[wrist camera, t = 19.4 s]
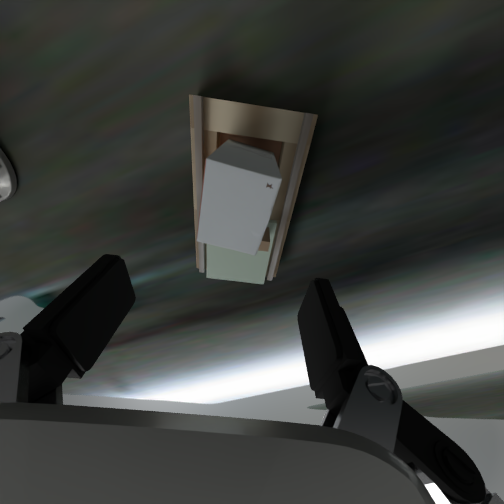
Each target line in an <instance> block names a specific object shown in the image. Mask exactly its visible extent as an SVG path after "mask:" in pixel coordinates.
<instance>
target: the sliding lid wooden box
mask: <svg viewBox="0 0 504 504" xmlns="http://www.w3.org/2000/svg"><path fill="white" fill-rule="evenodd" d="M189 103H190V126H191V149H192V172H193V195H194V217H195V240H196V239H197V230H198V221H199V211H200V203H201V194H202V185H203V176H204V168H205V160H206V158H207V157H208V156H209V155H211V154H212V153H213V152H214V151H215V150H216V149H217V148H219V147H220V146H221V145H222V144H223V143H224V142H226V141H227V140H228V139H231V140H234V141H237V142H241V143H244V144H247V145H250V146H254V147H257V148H260V149H264V150H267V151H270V152H273V153H274V155H275V159H276V162H277V165H278V168H279V171H280V174H281V177H282V181H281V184H280V187H279V191H278V194H277V197H276V200H275V203H274V206H273V209H272V213H271V216H270V219H269V220H276V221H277V226H276V230H275V235H274V239H273V244H272V248H271V253H270V257H269V262H268V266H267V271H266V275H265V276H267V280H272V278H273V277H276V273H277V269H278V265H279V261H280V258H281V254H282V250H283V246H284V242H285V239H286V235H287V231H288V227H289V223H290V220H291V216H292V212H293V208H294V204H295V201H296V197H297V193H298V189H299V185H300V182H301V178H302V174H303V170H304V166H305V163H306V159H307V155H308V151H309V147H310V144H311V140H312V136H313V132H314V128H315V124H316V121H317V117H318V115H315V114H310V113H302V112H296V111H289V110H283V109H277V108H270V107H264V106H258V105H251V104H245V103H239V102H232V101H226V100H220V99H213V98H207V97H202V96H197V95H189ZM196 263H197V268H199V272H203V273H204V271H205V269H207V244H205V243H201V242H197V241H196Z"/></svg>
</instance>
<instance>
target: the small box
mask: <svg viewBox="0 0 504 504" xmlns="http://www.w3.org/2000/svg"><path fill="white" fill-rule="evenodd" d="M281 181H282V177H281V174H280V171H279V168H278V165H277V162H276V159H275V155H274V153H273V152H270V151H267V150H264V149H260V148H257V147H254V146H250V145H247V144H244V143H241V142H237V141H234V140H231V139H228V140H227V141H226V142H224V143H223V144H222V145H221V146H220V147H219V148H217V149H216V150H215V151H214V152H213V153H212V154H211V155H209V156H208V157H207V158H206V160H205V168H204V176H203V185H202V194H201V203H200V211H199V221H198V230H197V239H196V241H197V242H201V243H205V244H210V245H214V246H218V247H222V248H227V249H231V250H235V251H239V252H243V253H247V254H251V255H256V254H257V252H258V249H259V246H260V244H261V241H262V238H263V235H264V233H265V230H266V227H267V225H268V222H269V219H270V216H271V213H272V209H273V206H274V203H275V200H276V197H277V194H278V191H279V187H280V184H281Z"/></svg>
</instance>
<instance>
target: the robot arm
mask: <svg viewBox="0 0 504 504" xmlns="http://www.w3.org/2000/svg"><path fill="white" fill-rule="evenodd" d="M16 187H17V180H16V175H15V172H14V169H13V167H12V165H11V163H10V161H9V160H8V158H7V157H6V155H5V154H4V152H3V151H2V150H1V149H0V201H3V200H6V199H9V198H10V197H11V196H13V194H14V193H15V191H16ZM135 298H136V297H135V293H134V290H133V287H132V284H131V281H130V277H129V274H128V271H127V268H126V265H125V262H124V260H123V259H121V257H120V256H118V255H109V254H105V255H103V256H102V257H101V258H99V259H98V260H97V261H96V262H95V263H94V264H93V265H92V266H91V267H90V268H88V269H87V270H86V271H85V272H84V273H83V274H82V275H81V276H80V277H79V278H77V279H76V280H75V281H74V282H73V283H72V284H71V285H70V286H69V287H68V288H66V289H65V290H64V291H63V292H62V293H61V294H60V295H59V296H58V297H57V298H55V299H54V300H53V301H52V302H51V303H50V304H49V305H48V306H47V307H45V308H44V309H43V310H42V311H41V312H40V313H39V314H38V315H37V316H36V317H34V318H33V319H32V320H31V321H30V322H29V323H28V324H27V325H26V326H25V327H23V329H24V331H23V332H22V333H21V334H20V335H19V334H18V333H14V332H4V333H0V504H504V502H503V501H502V500H501V498H499V496H498V495H497V494H496V493H490V492H489V491H488V490H487V489H486V488H485V483H484V481H483V478H482V476H481V474H480V472H479V470H478V468H477V467H476V465H475V464H474V462H473V461H472V460H471V458H470V457H469V456H468V455H467V453H466V452H465V451H464V450H463V449H461V447H459V446H458V445H457V444H456V443H455V442H454V441H452V440H451V439H450V438H449V437H448V436H446V435H445V434H444V433H443V432H441V431H440V430H439V429H438V428H437V427H435V426H434V425H433V424H432V423H430V422H429V421H428V420H427V419H426V418H424V417H423V416H422V415H421V414H419V413H418V412H417V411H416V410H415V409H413V408H412V407H411V406H410V405H408V404H407V403H406V402H405V401H403V398H402V393H401V390H400V388H399V386H398V385H397V383H396V382H395V381H394V379H393V378H392V377H391V376H390V375H389V374H388V373H387V372H385V371H384V370H382V369H381V368H379V367H376V366H373V365H368V364H367V361H366V359H365V357H364V354H363V352H362V350H361V347H360V345H359V343H358V341H357V338H356V336H355V334H354V331H353V329H352V327H351V325H350V322H349V320H348V318H347V315H346V313H345V311H344V309H343V308H342V307H340V306H339V303H338V301H337V299H336V296H335V294H334V291H333V289H332V287H331V284H330V282H329V280H328V279H322V278H316V279H315V280H312V281H311V283H310V285H309V288H308V290H307V292H306V295H305V297H304V300H303V302H302V305H301V307H300V310H299V312H298V324H299V330H300V335H301V340H302V345H303V351H304V356H305V361H306V367H307V372H308V377H309V383H310V387H311V389H312V390H313V391H315V396H316V398H320V399H325V403H326V408H327V411H326V413H325V415H324V418H323V420H322V422H321V424H320V426H319V425H310V424H299V423H290V422H280V421H268V420H256V419H244V418H232V417H220V416H206V415H194V414H182V413H181V414H180V413H169V412H155V411H142V410H129V409H115V408H100V407H87V406H74V405H63V397H62V383H63V381H64V380H65V379H66V377H68V378H80V379H81V378H82V376H83V375H84V373H85V372H86V371H88V370H90V369H91V368H92V366H93V365H94V363H95V362H96V360H97V359H98V357H99V356H100V354H101V353H102V351H103V350H104V348H105V347H106V345H107V344H108V342H109V341H110V339H111V338H112V336H113V335H114V333H115V331H116V330H117V328H118V327H119V325H120V324H121V322H122V321H123V319H124V318H125V316H126V315H127V313H128V312H129V310H130V309H131V307H132V306H133V304H134V302H135Z"/></svg>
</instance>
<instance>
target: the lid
mask: <svg viewBox="0 0 504 504" xmlns="http://www.w3.org/2000/svg"><path fill="white" fill-rule="evenodd" d="M276 226H277V221H276V220H269V222H268V225H267V227H266V230H265V233H264V235H263V238H262V241H261V244H260V246H259V249H258V252H257V254H256V255H251V254H247V253H243V252H239V251H235V250H231V249H227V248H222V247H218V246H214V245H210V244H207V278H214V279H222V280H231V281H240V282H248V283H257V284H264V280H265V275H266V271H267V266H268V262H269V257H270V253H271V248H272V244H273V239H274V235H275V230H276Z"/></svg>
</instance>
